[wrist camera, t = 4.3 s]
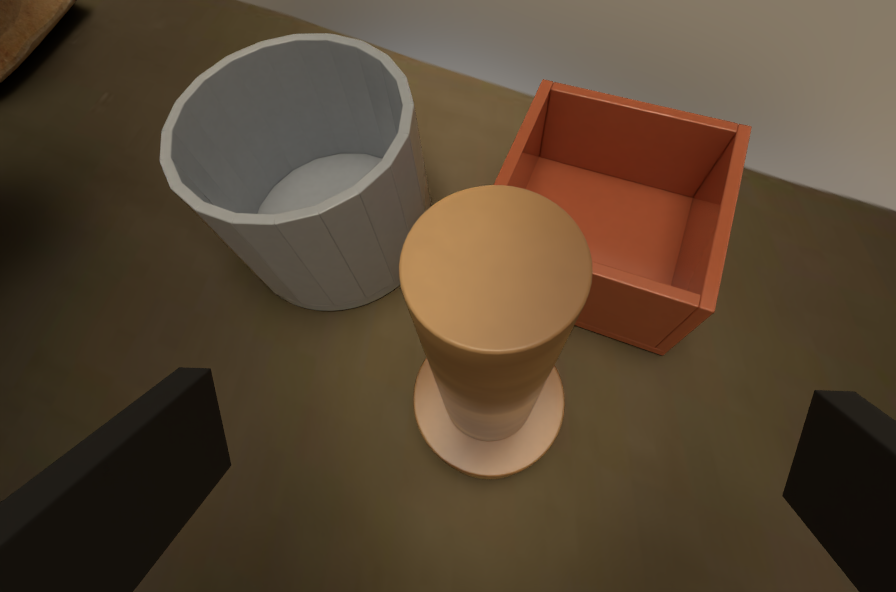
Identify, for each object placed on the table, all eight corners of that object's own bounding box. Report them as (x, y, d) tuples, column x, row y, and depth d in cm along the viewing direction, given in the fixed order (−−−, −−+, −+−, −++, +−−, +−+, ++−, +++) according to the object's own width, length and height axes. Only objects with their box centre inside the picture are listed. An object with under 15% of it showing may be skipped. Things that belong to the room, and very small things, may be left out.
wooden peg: (403, 449, 21) (266, 350, 8) (452, 335, 24) (413, 106, 10) (527, 505, 20) (619, 500, 7) (568, 378, 22) (699, 180, 9)
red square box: (472, 290, 25) (469, 234, 20) (532, 154, 29) (542, 78, 23) (662, 356, 22) (715, 312, 17) (700, 199, 26) (752, 126, 21)
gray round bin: (215, 274, 26) (106, 178, 19) (309, 139, 30) (251, 14, 23) (382, 339, 24) (334, 260, 16) (460, 183, 28) (452, 60, 20)
